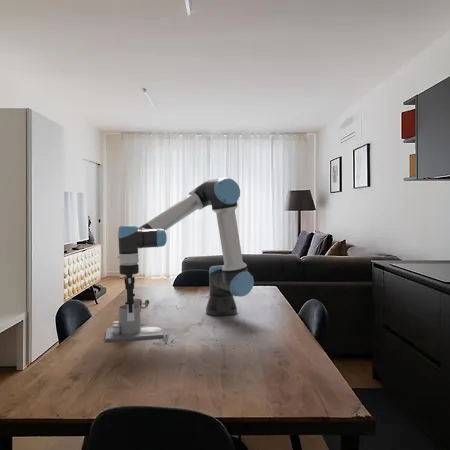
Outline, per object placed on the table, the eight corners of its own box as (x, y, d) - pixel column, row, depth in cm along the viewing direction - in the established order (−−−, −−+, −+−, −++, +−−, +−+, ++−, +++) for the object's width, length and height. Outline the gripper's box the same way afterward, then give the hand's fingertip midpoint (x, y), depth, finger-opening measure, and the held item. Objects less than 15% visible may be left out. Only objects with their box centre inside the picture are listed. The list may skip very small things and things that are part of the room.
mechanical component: (147, 322, 195) (147, 300, 195) (126, 321, 197) (126, 299, 197) (150, 321, 198) (150, 299, 198) (129, 320, 200) (128, 298, 200)
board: (160, 327, 187) (160, 316, 187) (163, 337, 171) (163, 325, 171) (107, 330, 182) (106, 319, 182) (105, 341, 167) (105, 329, 167)
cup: (121, 329, 180) (120, 304, 180) (141, 328, 181) (140, 304, 181) (117, 334, 172) (117, 309, 172) (139, 333, 173) (138, 308, 172)
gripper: (119, 260, 187) (121, 310, 188) (118, 268, 163) (120, 325, 164) (137, 260, 189) (139, 309, 190) (139, 267, 164) (141, 323, 165)
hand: (130, 316), depth 177 cm, fingers open, 13 cm apart
